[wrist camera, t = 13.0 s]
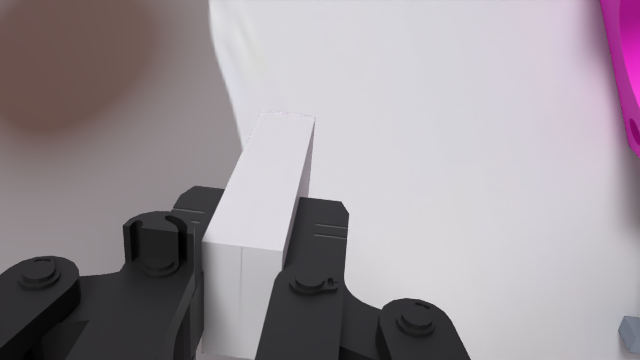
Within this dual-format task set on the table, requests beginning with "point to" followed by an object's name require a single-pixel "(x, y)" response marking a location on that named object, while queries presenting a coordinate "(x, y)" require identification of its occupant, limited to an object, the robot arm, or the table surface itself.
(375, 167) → the table surface
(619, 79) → the toy block
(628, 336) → the pocket
